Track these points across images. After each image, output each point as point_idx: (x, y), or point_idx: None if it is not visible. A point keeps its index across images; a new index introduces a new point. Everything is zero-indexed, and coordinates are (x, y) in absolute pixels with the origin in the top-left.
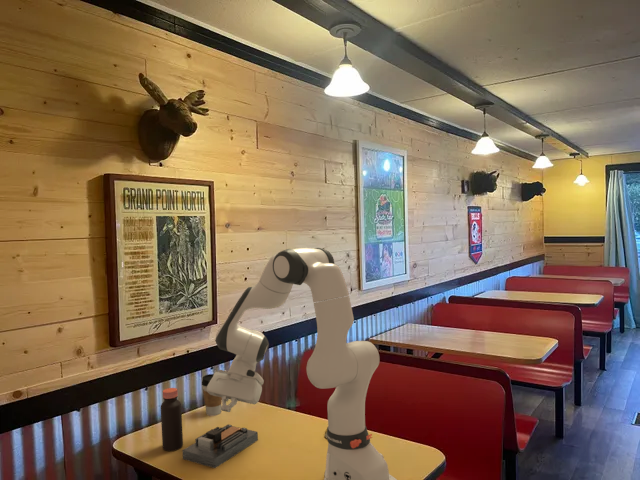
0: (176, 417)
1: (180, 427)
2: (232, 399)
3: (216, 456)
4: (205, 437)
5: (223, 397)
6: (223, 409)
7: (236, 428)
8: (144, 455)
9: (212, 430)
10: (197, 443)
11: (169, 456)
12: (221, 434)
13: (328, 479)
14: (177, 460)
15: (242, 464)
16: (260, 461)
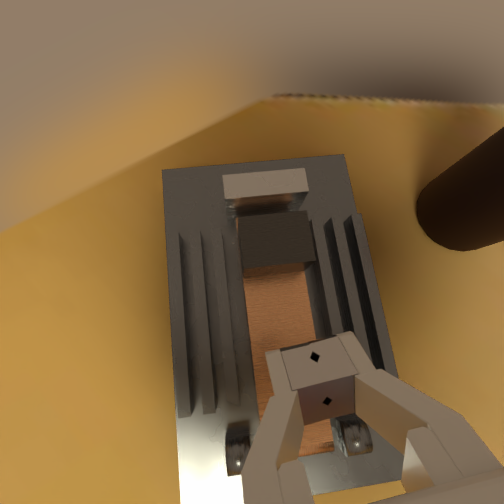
0: None
1: (489, 189)
2: (283, 488)
3: (170, 187)
4: (338, 254)
5: (460, 445)
6: (318, 339)
7: None
8: (467, 124)
9: (299, 249)
10: (344, 224)
11: (390, 162)
12: (297, 324)
13: None
14: None
15: (94, 263)
16: (38, 323)
